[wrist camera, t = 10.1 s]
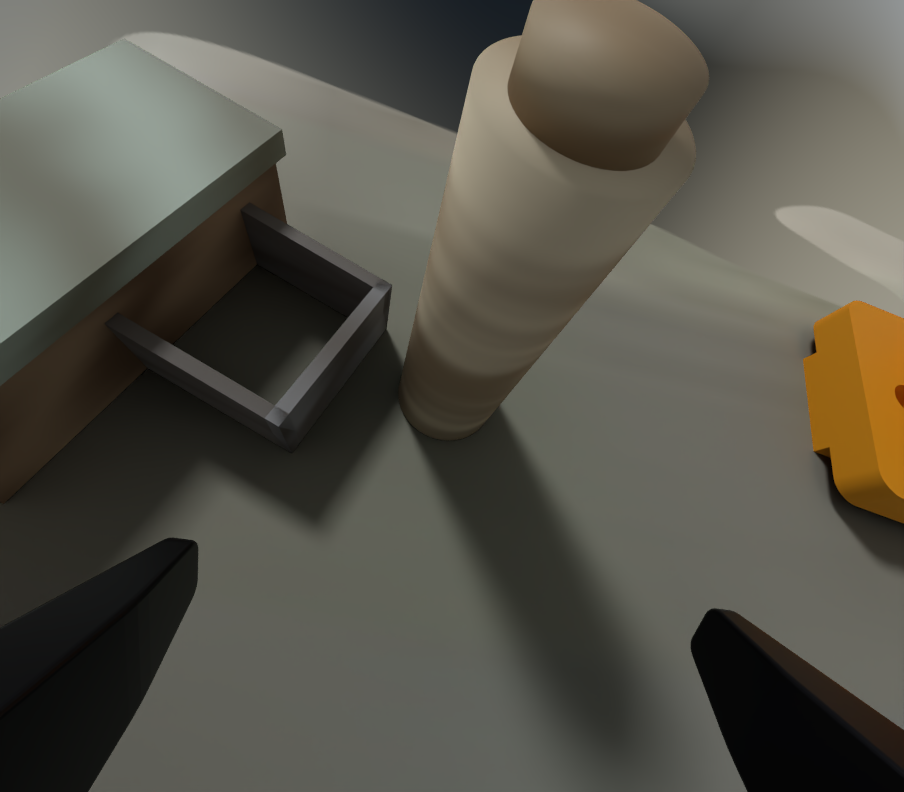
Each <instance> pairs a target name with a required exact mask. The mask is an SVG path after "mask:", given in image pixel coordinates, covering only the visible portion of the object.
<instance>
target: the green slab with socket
mask: <svg viewBox="0 0 904 792" xmlns="http://www.w3.org/2000/svg"><path fill="white" fill-rule="evenodd" d="M285 155H286V151H285V145H284V139H283V133H282V129H281V128H279V127H277V126H275V125H274V124H272V123H270V122H269V121H267V120H265V119H263V118H262V117H260V116H258V115H256V114H255V113H253V112H251V111H249V110H248V109H246V108H244V107H242V106H241V105H239V104H237V103H235V102H234V101H232V100H230V99H229V98H227V97H225V96H223V95H222V94H220V93H218V92H216V91H215V90H213V89H211V88H209V87H208V86H206V85H204V84H202V83H201V82H199V81H197V80H196V79H194V78H192V77H190V76H189V75H187V74H185V73H183V72H182V71H180V70H178V69H176V68H175V67H173V66H171V65H169V64H168V63H166V62H164V61H162V60H161V59H159V58H157V57H156V56H154V55H152V54H150V53H149V52H147V51H145V50H143V49H142V48H140V47H138V46H136V45H135V44H133V43H131V42H129V41H128V40H126V39H122V40H120V41H118V42H116V43H114V44H112V45H110V46H108V47H106V48H104V49H101V50H100V51H97V52H95V53H93V54H91V55H89V56H87V57H85V58H83V59H81V60H79V61H77V62H75V63H73V64H70V65H69V66H66V67H64V68H62V69H60V70H58V71H56V72H54V73H52V74H50V75H48V76H46V77H44V78H42V79H39V80H37V81H35V82H33V83H31V84H29V85H27V86H25V87H23V88H21V89H19V90H17V91H15V92H13V93H11V94H9V95H7V96H4V97H2V98H0V503H3V504H4V503H5V502H6V501H7V500H8V499H9V498H10V497H11V496H13V495H14V494H15V493H16V492H17V491H18V490H19V489H20V488H21V487H22V486H23V485H24V484H25V483H26V482H27V481H28V480H29V479H31V478H32V477H33V476H34V475H35V474H36V473H37V472H38V471H39V470H40V469H41V468H42V467H43V466H44V465H45V464H46V463H47V462H48V461H50V460H51V459H52V458H53V457H54V456H55V455H56V454H57V453H58V452H59V451H60V450H61V449H62V448H63V447H64V446H65V445H66V444H68V443H69V442H70V441H71V440H72V439H73V438H74V437H75V436H76V435H77V434H78V433H79V432H80V431H81V430H82V429H83V428H84V427H86V426H87V425H88V424H89V423H90V422H91V421H92V420H93V419H94V418H95V417H96V416H97V415H98V414H99V413H100V412H101V411H102V410H103V409H105V408H106V407H107V406H108V405H109V404H110V403H111V402H112V401H113V400H114V399H115V398H116V397H117V396H118V395H119V394H120V393H121V392H123V391H124V390H125V389H126V388H127V387H128V386H129V385H130V384H131V383H132V382H133V381H134V380H135V379H136V378H137V377H138V376H139V375H140V374H142V373H143V372H144V371H145V370H146V369H147V368H149V369H150V370H152V371H154V372H155V373H157V374H159V375H160V376H162V377H164V378H165V379H167V380H169V381H171V382H172V383H174V384H176V385H177V386H179V387H181V388H182V389H184V390H186V391H187V392H189V393H191V394H192V395H194V396H196V397H198V398H199V399H201V400H203V401H204V402H206V403H208V404H209V405H211V406H213V407H214V408H216V409H218V410H220V411H221V412H223V413H225V414H226V415H228V416H230V417H231V418H233V419H235V420H236V421H238V422H240V423H241V424H243V425H245V426H247V427H248V428H250V429H252V430H253V431H255V432H257V433H258V434H260V435H262V436H263V437H265V438H267V439H268V440H270V441H272V442H274V443H275V444H277V445H279V446H280V447H282V448H284V449H285V450H287V451H289V452H290V453H292V452H293V451H294V450H295V448H296V447H297V446H298V444H299V443H300V442H301V440H302V439H303V438H304V437H305V435H306V434H307V433H308V431H309V430H310V429H311V427H312V426H313V425H314V423H315V422H316V421H317V419H318V418H319V417H320V415H321V414H322V413H323V411H324V410H325V409H326V407H327V406H328V405H329V404H330V402H331V401H332V400H333V398H334V397H335V396H336V394H337V393H338V392H339V390H340V389H341V388H342V386H343V385H344V384H345V382H346V381H347V380H348V378H349V377H350V376H351V375H352V373H353V372H354V371H355V369H356V368H357V367H358V365H359V364H360V363H361V361H362V360H363V359H364V357H365V356H366V355H367V353H368V352H369V351H370V349H371V348H372V347H373V345H374V344H375V343H376V342H377V340H378V339H379V338H380V336H381V335H382V334H383V332H384V331H385V330H386V328H387V321H388V313H389V306H390V298H391V290H392V285H391V284H389V283H388V282H386V281H384V280H382V279H381V278H379V277H377V276H376V275H374V274H372V273H370V272H369V271H367V270H365V269H364V268H362V267H360V266H358V265H357V264H355V263H353V262H351V261H350V260H348V259H346V258H345V257H343V256H341V255H339V254H338V253H336V252H334V251H333V250H331V249H329V248H327V247H326V246H324V245H322V244H320V243H319V242H317V241H315V240H314V239H312V238H310V237H308V236H307V235H305V234H303V233H301V232H300V231H298V230H296V229H295V228H293V227H291V226H289V225H288V224H287V221H286V216H285V210H284V205H283V200H282V194H281V189H280V184H279V178H278V173H277V168H276V163H277V162H278V161H279V160H280V159H281V158H283V157H284V156H285ZM256 265H259V266H261V267H263V268H264V269H266V270H268V271H269V272H271V273H273V274H275V275H276V276H278V277H280V278H281V279H283V280H285V281H287V282H288V283H290V284H292V285H293V286H295V287H297V288H299V289H300V290H302V291H304V292H305V293H307V294H309V295H311V296H312V297H314V298H316V299H317V300H319V301H321V302H323V303H324V304H326V305H328V306H329V307H331V308H333V309H335V310H336V311H338V312H340V313H341V314H343V315H345V316H347V317H348V318H347V320H346V321H345V322H344V323H343V324H342V326H341V327H340V328H339V329H338V330H337V332H336V333H335V334H334V335H333V336H332V338H331V339H330V340H329V341H328V342H327V344H326V345H325V346H324V347H323V349H322V350H321V351H320V352H319V353H318V355H317V356H316V357H315V358H314V359H313V361H312V362H311V363H310V364H309V365H308V367H307V368H306V369H305V370H304V371H303V373H302V374H301V375H300V376H299V377H298V379H297V380H296V381H295V382H294V383H293V385H292V386H291V387H290V388H289V389H288V391H287V392H286V393H285V394H284V396H283V397H282V398H281V399H280V400H279V402H278V403H277V404H276V405H273V404H272V403H270V402H268V401H267V400H265V399H263V398H262V397H260V396H258V395H256V394H255V393H253V392H251V391H250V390H248V389H246V388H245V387H243V386H241V385H239V384H238V383H236V382H234V381H233V380H231V379H229V378H228V377H226V376H224V375H223V374H221V373H219V372H217V371H216V370H214V369H212V368H211V367H209V366H207V365H206V364H204V363H202V362H201V361H199V360H197V359H195V358H194V357H192V356H190V355H189V354H187V353H185V352H184V351H182V350H180V349H179V348H177V347H175V346H173V345H172V344H173V343H174V342H175V341H176V340H178V339H179V338H180V337H181V336H182V335H183V334H184V333H185V332H186V331H187V330H188V329H189V328H190V327H191V326H192V325H193V324H194V323H195V322H197V321H198V320H199V319H200V318H201V317H202V316H203V315H204V314H205V313H206V312H207V311H208V310H209V309H210V308H211V307H212V306H213V305H215V304H216V303H217V302H218V301H219V300H220V299H221V298H222V297H223V296H224V295H225V294H226V293H227V292H228V291H229V290H230V289H231V288H232V287H234V286H235V285H236V284H237V283H238V282H239V281H240V280H241V279H242V278H243V277H244V276H245V275H246V274H247V273H248V272H249V271H250V270H252V269H253V268H254V267H255V266H256Z"/></svg>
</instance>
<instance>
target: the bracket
mask: <svg viewBox="0 0 904 792" xmlns="http://www.w3.org/2000/svg"><path fill="white" fill-rule="evenodd" d="M814 336H815V343H816V351H817V353H815V354H813V355H811V356H808V357H806V358H804V359H803V363H804V372H805V380H806V389H807V398H808V406H809V415H810V424H811V432H812V441H813V449H814V452H817V453H819V454H822V455H825V456H827V457H830V458H831V462H832V469H833V477H834V482H835V485H836V487H837V489H838V490H839V492H840V493H841V495H842V496H843V497H844V498H845V499H846V500H847V501H848V502H849V503H851V504H853V505H854V506H857V507H860V508H862V509H865V510H868V511H871V512H873V513H876V514H879V515H882V516H884V517H887V518H890V519H893V520H895V521H898V522H901V523H904V318H901V317H898V316H896V315H894V314H891V313H889V312H886V311H884V310H881V309H879V308H876V307H874V306H872V305H869V304H867V303H864V302H862V301H853V302H851V303H849V304H847V305H845V306H844V307H842V308H840V309H838V310H837V311H835V312H833V313H831V314H829V315H828V316H826V317H824V318H822V319H820V320H819V321H817V322H816V323H815V324H814Z"/></svg>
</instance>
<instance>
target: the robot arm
mask: <svg viewBox="0 0 904 792" xmlns="http://www.w3.org/2000/svg"><path fill="white" fill-rule="evenodd" d="M197 581H198V545H197V543H196V542H195V541H193V540H187V539H180V538H167V539H164V540H162V541H160V542H158V543H157V544H155V545H153V546H151V547H149V548H147V549H145V550H144V551H142V552H140V553H138V554H136V555H134V556H132V557H131V558H129V559H127V560H125V561H123V562H121V563H119V564H118V565H116V566H114V567H112V568H110V569H108V570H106V571H105V572H103V573H101V574H99V575H97V576H95V577H93V578H92V579H90V580H88V581H86V582H84V583H82V584H80V585H78V586H77V587H75V588H73V589H71V590H69V591H67V592H65V593H64V594H62V595H60V596H58V597H56V598H54V599H52V600H51V601H49V602H47V603H45V604H43V605H41V606H39V607H38V608H36V609H34V610H32V611H30V612H28V613H26V614H25V615H23V616H21V617H19V618H17V619H15V620H13V621H12V622H10V623H8V624H6V625H4V626H2V627H0V792H88V791H89V790H90V788H91V786H92V785H93V783H94V781H95V780H96V778H97V776H98V775H99V773H100V771H101V770H102V768H103V766H104V765H105V763H106V761H107V760H108V758H109V756H110V755H111V753H112V751H113V750H114V748H115V746H116V745H117V743H118V742H119V740H120V738H121V737H122V735H123V733H124V732H125V730H126V728H127V727H128V725H129V723H130V722H131V720H132V718H133V716H134V715H135V713H136V711H137V709H138V708H139V706H140V704H141V702H142V700H143V699H144V697H145V695H146V693H147V691H148V689H149V687H150V685H151V683H152V681H153V679H154V677H155V674H156V672H157V670H158V668H159V666H160V664H161V662H162V660H163V658H164V656H165V654H166V652H167V650H168V648H169V646H170V644H171V641H172V639H173V637H174V635H175V633H176V631H177V629H178V627H179V625H180V623H181V621H182V619H183V617H184V615H185V613H186V611H187V608H188V606H189V604H190V602H191V600H192V598H193V596H194V593H195V590H196V587H197ZM691 652H692V656H693V658H694V661H695V664H696V666H697V669H698V672H699V674H700V677H701V679H702V682H703V685H704V687H705V690H706V693H707V695H708V698H709V701H710V703H711V706H712V709H713V711H714V714H715V717H716V719H717V722H718V725H719V727H720V730H721V732H722V735H723V737H724V740H725V742H726V745H727V748H728V750H729V752H730V755H731V757H732V759H733V761H734V764H735V766H736V768H737V770H738V772H739V775H740V777H741V779H742V781H743V783H744V785H745V787H746V790H747V792H904V730H903V729H901V728H900V727H899V726H897V725H896V724H894V723H893V722H891V721H890V720H889V719H887V718H886V717H884V716H883V715H881V714H880V713H879V712H877V711H876V710H874V709H873V708H872V707H870V706H869V705H867V704H866V703H864V702H863V701H862V700H860V699H859V698H857V697H856V696H854V695H853V694H852V693H850V692H849V691H847V690H846V689H844V688H843V687H842V686H840V685H839V684H837V683H836V682H835V681H833V680H832V679H830V678H829V677H827V676H826V675H825V674H823V673H822V672H820V671H819V670H817V669H816V668H815V667H813V666H812V665H810V664H809V663H808V662H806V661H805V660H803V659H802V658H800V657H799V656H798V655H796V654H795V653H793V652H792V651H790V650H789V649H788V648H786V647H785V646H783V645H782V644H780V643H779V642H778V641H776V640H775V639H773V638H772V637H771V636H769V635H768V634H766V633H765V632H763V631H762V630H761V629H759V628H758V627H756V626H755V625H753V624H752V623H751V622H749V621H748V620H746V619H745V618H743V617H742V616H741V615H739V614H738V613H736V612H734V611H730V610H724V609H716V608H714V609H710V610H709V611H707V613H706V614H705V616H704V618H703V619H702V621H701V623H700V625H699V626H698V628H697V630H696V632H695V634H694V635H693V637H692V639H691Z"/></svg>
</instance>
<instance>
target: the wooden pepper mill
mask: <svg viewBox="0 0 904 792" xmlns="http://www.w3.org/2000/svg"><path fill="white" fill-rule="evenodd" d="M708 83H709V73H708V68H707V65H706V62H705V60H704V58H703V56H702V54H701V53H700V52H699V50H698V49H697V47H696V46H695V45H694V43H693V42H692V41H691V40H690V39H689V38H688V37H687V36H686V35H685V34H684V33H683V32H682V31H681V30H680V29H679V28H678V27H677V26H676V25H674V24H673V23H672V22H670V21H669V20H668V19H667V18H665V17H664V16H662V15H661V14H659V13H658V12H656V11H655V10H653V9H651V8H650V7H648V6H646V5H644V4H642V3H641V2H639V1H637V0H533V2H532V5H531V8H530V11H529V15H528V18H527V21H526V24H525V28H524V31H523V34H522V35H521V36H515V37H510V38H507V39H504V40H501V41H498V42H496V43H494V44H492V45H491V46H489V47H488V48H487V49H485V50H484V51H483V52H482V53H481V55H480V56H479V57H478V58H477V60H476V62H475V64H474V66H473V70H472V74H471V79H470V83H469V87H468V91H467V96H466V100H465V105H464V109H463V113H462V117H461V121H460V126H459V130H458V134H457V139H456V143H455V147H454V152H453V156H452V160H451V164H450V169H449V173H448V177H447V182H446V186H445V190H444V195H443V199H442V203H441V207H440V212H439V216H438V220H437V225H436V229H435V233H434V238H433V242H432V246H431V251H430V255H429V259H428V263H427V268H426V272H425V276H424V281H423V285H422V289H421V294H420V298H419V302H418V306H417V311H416V315H415V319H414V324H413V328H412V332H411V337H410V341H409V345H408V350H407V354H406V358H405V362H404V367H403V371H402V375H401V380H400V384H399V390H398V396H399V403H400V406H401V409H402V411H403V413H404V415H405V417H406V418H407V420H408V421H409V422H410V423H411V425H412V426H413V427H415V428H416V429H417V430H418V431H420V432H421V433H423V434H425V435H427V436H429V437H432V438H434V439H439V440H446V441H450V440H459V439H462V438H466V437H468V436H470V435H472V434H473V433H475V432H476V431H477V430H479V429H480V428H481V426H482V425H483V424H484V423H485V422H486V421H487V419H488V418H489V417H490V416H491V415H492V413H493V412H494V411H495V410H496V409H497V407H498V406H499V405H500V404H501V403H502V401H503V400H504V399H505V398H506V397H507V395H508V394H509V393H510V392H511V391H512V389H513V388H514V387H515V386H516V385H517V383H518V382H519V381H520V380H521V379H522V377H523V376H524V375H525V374H526V373H527V371H528V370H529V369H530V368H531V367H532V365H533V364H534V363H535V362H536V361H537V359H538V358H539V357H540V356H541V355H542V353H543V352H544V351H545V350H546V349H547V347H548V346H549V345H550V344H551V343H552V341H553V340H554V339H555V338H556V337H557V335H558V334H559V333H560V332H561V331H562V329H563V328H564V327H565V326H566V325H567V323H568V322H569V321H570V320H571V319H572V317H573V316H574V315H575V314H576V313H577V311H578V310H579V309H580V308H581V307H582V305H583V304H584V303H585V302H586V301H587V299H588V298H589V297H590V296H591V295H592V293H593V292H594V291H595V290H596V289H597V287H598V286H599V285H600V284H601V283H602V281H603V280H604V279H605V278H606V277H607V275H608V274H609V273H610V272H611V271H612V269H613V268H614V267H615V266H616V265H617V263H618V262H619V261H620V260H621V259H622V257H623V256H624V255H625V254H626V253H627V251H628V250H629V249H630V248H631V247H632V245H633V244H634V243H635V242H636V241H637V239H638V238H639V237H640V236H641V235H642V233H643V232H644V231H645V230H646V229H647V227H648V226H649V225H650V224H651V223H652V221H653V220H654V219H655V218H656V217H657V215H658V214H659V213H660V212H661V210H662V209H663V208H664V207H665V206H666V205H667V203H668V202H669V201H670V200H671V199H672V197H673V196H674V195H675V194H676V193H677V191H678V190H679V189H680V188H681V187H682V185H683V184H684V183H685V182H686V181H687V179H688V178H689V177H690V175H691V173H692V171H693V169H694V165H695V161H696V149H695V141H694V138H693V135H692V132H691V130H690V128H689V125H688V123H687V121H686V118H687V116H688V115H689V113H690V112H691V111H692V109H693V108H694V106H695V105H696V104H697V102H698V101H699V99H700V98H701V97H702V95H703V94H704V92H705V91H706V89H707V87H708Z"/></svg>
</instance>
